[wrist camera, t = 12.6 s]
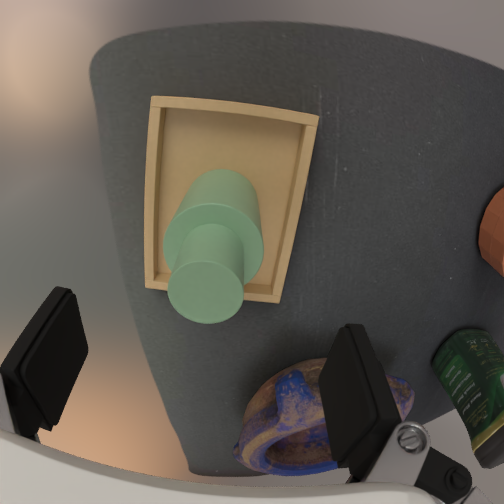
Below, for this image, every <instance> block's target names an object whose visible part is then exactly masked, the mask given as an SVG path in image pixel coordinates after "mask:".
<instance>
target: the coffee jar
mask: <svg viewBox="0 0 504 504" xmlns="http://www.w3.org/2000/svg"><path fill="white" fill-rule="evenodd" d="M432 368H433V370H434V372H435V374H436V376H437V377H438V379H439V381H440V383H441V384H442V386H443V387H444V389H445V391H446V392H447V394H448V395H449V397H450V399H451V400H452V402H453V404H454V406H455V407H456V409H457V411H458V413H459V415H460V417H461V419H462V421H463V422H464V424H465V426H466V428H467V431H468V434H469V436H470V440H471V446H472V450H473V453H474V455H475V457H476V458H477V460H478V461H479V463H480V465H481V466H482V468H489V469H491V468H494V467H496V466H498V465H500V464H502V463H504V355H503V353H502V352H501V350H500V349H499V347H498V345H497V344H496V342H495V341H494V340H493V338H492V337H491V335H490V334H489V333H488V332H487V331H484V330H480V329H463V330H459V331H457V332H456V333H454V334H453V335H452V336H451V337H450V338H449V339H448V340H447V341H445V342H444V343H443V344H442V346H441V347H440V348H439V350H438V352H437V353H436V355H435V358H434V360H433V363H432Z"/></svg>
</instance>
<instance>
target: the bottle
mask: <svg viewBox="0 0 504 504" xmlns="http://www.w3.org/2000/svg"><path fill="white" fill-rule="evenodd" d="M163 253H164V258H165V260H166V263H167V265H168V267H169V269H170V270H171V272H172V273H171V276H170V279H169V282H168V287H167V291H168V297H169V300H170V302H171V304H172V306H173V307H174V308H175V309H176V310H177V312H179V313H180V314H181V315H182V316H184V317H185V318H187V319H189V320H192V321H194V322H198V323H205V324H213V323H219V322H222V321H225V320H227V319H229V318H230V317H232V316H233V315H234V314H236V312H237V311H238V310H239V309H240V307H241V305H242V303H243V299H244V285H245V284H247V283H248V282H249V281H250V280H251V279H252V278H253V277H254V276H255V275H256V274H257V272H258V270H259V269H260V266H261V264H262V261H263V256H264V243H263V235H262V227H261V220H260V212H259V204H258V198H257V194H256V191H255V189H254V187H253V185H252V184H251V183H250V181H249V180H248V179H247V178H245V177H244V176H243V175H241V174H239V173H237V172H235V171H232V170H227V169H215V170H211V171H208V172H206V173H204V174H202V175H200V176H199V177H198V178H197V179H196V180H195V181H194V182H193V183H192V185H191V186H190V188H189V190H188V191H187V193H186V195H185V197H184V198H183V200H182V202H181V204H180V206H179V207H178V209H177V211H176V213H175V215H174V216H173V218H172V220H171V222H170V224H169V226H168V227H167V230H166V232H165V235H164V239H163Z"/></svg>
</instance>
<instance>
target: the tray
mask: <svg viewBox="0 0 504 504" xmlns="http://www.w3.org/2000/svg"><path fill="white" fill-rule="evenodd" d="M318 121H319V116H316V115H313V114H308V113H303V112H297V111H292V110H286V109H280V108H274V107H268V106H262V105H255V104H247V103H240V102H231V101H222V100H213V99H202V98H189V97H173V96H152V97H151V105H150V115H149V127H148V139H147V154H146V173H145V201H144V261H145V287H146V288H152V289H159V290H166V291H167V287H168V282H169V279H170V276H171V273H172V272H171V270H170V269H169V267H168V265H167V263H166V260H165V258H164V253H163V239H164V235H165V232H166V230H167V227H168V226H169V224H170V222H171V220H172V218H173V216H174V215H175V213H176V211H177V209H178V207H179V206H180V204H181V202H182V200H183V198H184V197H185V195H186V193H187V191H188V190H189V188H190V186H191V185H192V183H193V182H194V181H195V180H196V179H197V178H198V177H199V176H200V175H202V174H204V173H206V172H208V171H211V170H215V169H227V170H232V171H235V172H237V173H239V174H241V175H243V176H244V177H245V178H247V179H248V180H249V181H250V183H251V184H252V185H253V187H254V189H255V191H256V194H257V198H258V204H259V212H260V220H261V227H262V235H263V243H264V256H263V261H262V264H261V266H260V269H259V270H258V272H257V274H256V275H255V276H254V277H253V278H252V279H251V280H250V281H249V282H248V283H247V284H245V285H244V299H243V300H250V301H260V302H270V303H279V302H280V298H281V294H282V290H283V285H284V281H285V277H286V273H287V268H288V264H289V260H290V255H291V251H292V247H293V242H294V238H295V233H296V229H297V224H298V219H299V215H300V210H301V205H302V201H303V196H304V191H305V186H306V182H307V177H308V172H309V167H310V162H311V157H312V152H313V147H314V141H315V136H316V131H317V126H318Z"/></svg>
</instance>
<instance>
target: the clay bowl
mask: <svg viewBox="0 0 504 504" xmlns="http://www.w3.org/2000/svg"><path fill="white" fill-rule="evenodd" d="M478 243H479V248H480V252H481V256H482V258H483V259H484V260H485V261H486V262H487V263H488V264H489V265H490V266H491V267H492V268H493V269H494V270H495V271H496V272H497V273H498V274H499V275H500V276H501V277H502V278H503V279H504V187H503V188H502V189H501V190H500V191H499V192H497V193H496V194H495V195H494V197H493V199H492V200H491V202H490V203H489V205H488V206H487V208H486V210H485V213H484V216H483V219H482V222H481V225H480V231H479V242H478Z"/></svg>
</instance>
